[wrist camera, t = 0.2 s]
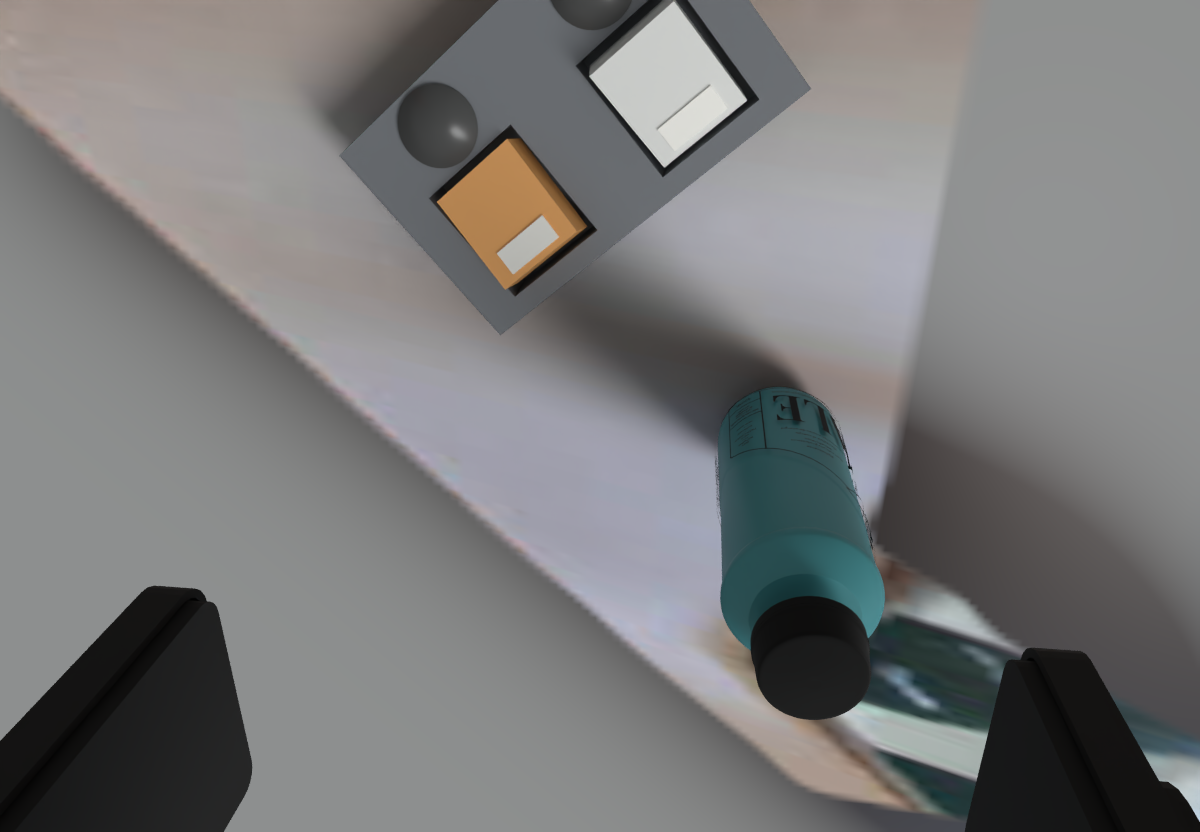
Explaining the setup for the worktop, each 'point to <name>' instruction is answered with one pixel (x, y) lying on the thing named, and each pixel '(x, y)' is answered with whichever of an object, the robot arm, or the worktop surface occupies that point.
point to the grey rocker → (666, 82)
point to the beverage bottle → (796, 554)
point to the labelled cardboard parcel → (511, 212)
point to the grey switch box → (554, 130)
